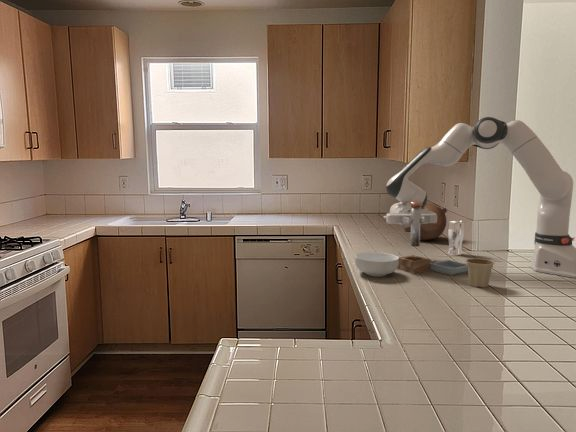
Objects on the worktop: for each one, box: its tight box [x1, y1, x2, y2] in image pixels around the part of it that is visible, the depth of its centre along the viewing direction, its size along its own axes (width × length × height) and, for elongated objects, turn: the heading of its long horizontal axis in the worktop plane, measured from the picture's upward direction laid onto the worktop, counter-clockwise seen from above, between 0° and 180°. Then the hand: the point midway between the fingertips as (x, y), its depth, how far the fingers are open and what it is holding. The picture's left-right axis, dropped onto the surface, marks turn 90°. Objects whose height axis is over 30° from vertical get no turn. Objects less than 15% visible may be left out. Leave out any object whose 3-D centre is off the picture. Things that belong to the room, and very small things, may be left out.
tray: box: [429, 259, 468, 277], centre depth 186 cm, size 11×11×2 cm
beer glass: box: [447, 220, 465, 256], centre depth 215 cm, size 7×7×15 cm
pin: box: [409, 202, 422, 247], centre depth 186 cm, size 5×5×17 cm
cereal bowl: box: [354, 251, 399, 278], centre depth 182 cm, size 17×17×7 cm
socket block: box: [396, 254, 431, 274], centre depth 188 cm, size 9×9×4 cm
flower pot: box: [465, 257, 496, 288], centre depth 166 cm, size 9×9×9 cm
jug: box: [403, 202, 448, 241], centre depth 255 cm, size 20×20×30 cm
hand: (416, 220), depth 185 cm, fingers closed on pin, 4 cm apart
